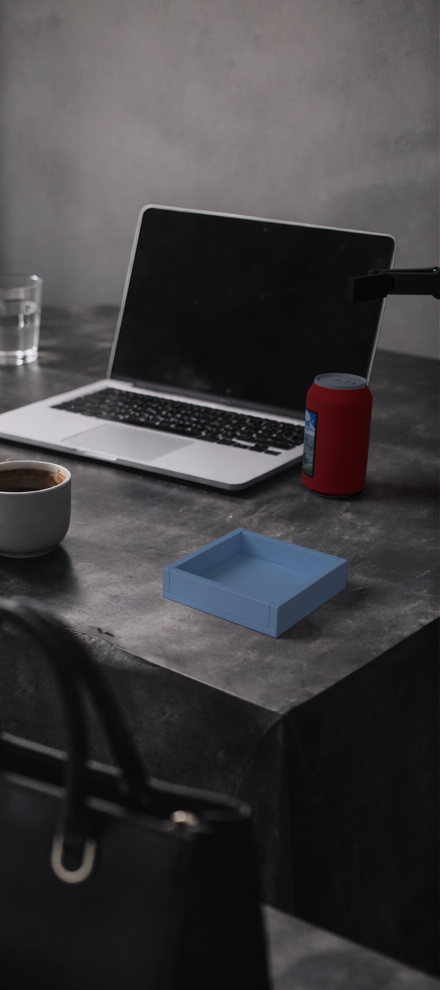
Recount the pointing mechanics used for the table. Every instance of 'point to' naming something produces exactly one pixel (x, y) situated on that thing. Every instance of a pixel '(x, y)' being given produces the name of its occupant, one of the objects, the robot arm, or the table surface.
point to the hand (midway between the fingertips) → (402, 299)
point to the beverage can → (337, 435)
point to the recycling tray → (255, 580)
